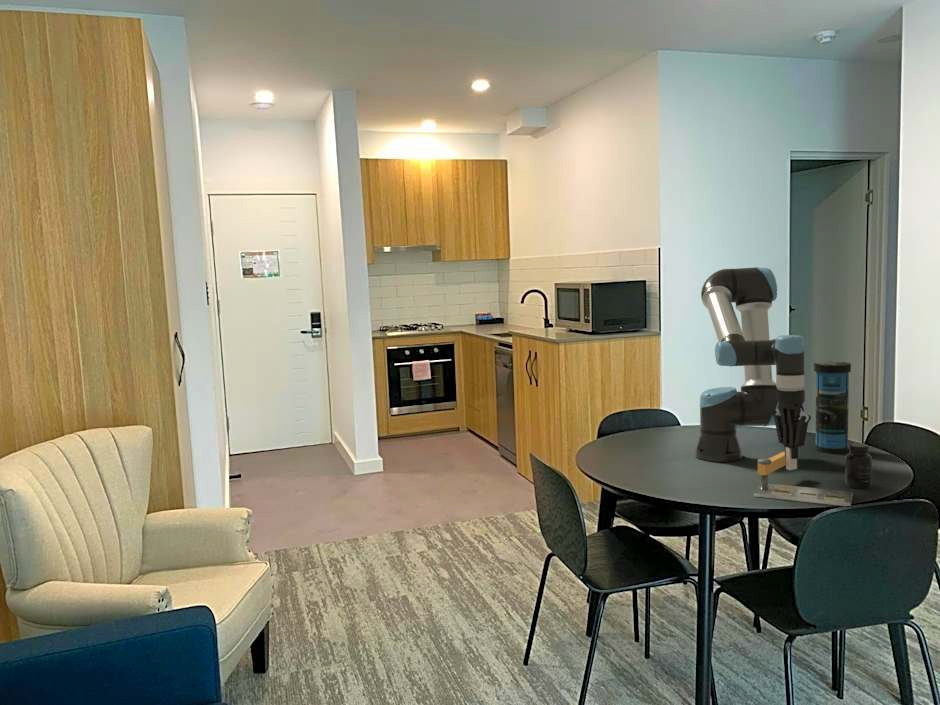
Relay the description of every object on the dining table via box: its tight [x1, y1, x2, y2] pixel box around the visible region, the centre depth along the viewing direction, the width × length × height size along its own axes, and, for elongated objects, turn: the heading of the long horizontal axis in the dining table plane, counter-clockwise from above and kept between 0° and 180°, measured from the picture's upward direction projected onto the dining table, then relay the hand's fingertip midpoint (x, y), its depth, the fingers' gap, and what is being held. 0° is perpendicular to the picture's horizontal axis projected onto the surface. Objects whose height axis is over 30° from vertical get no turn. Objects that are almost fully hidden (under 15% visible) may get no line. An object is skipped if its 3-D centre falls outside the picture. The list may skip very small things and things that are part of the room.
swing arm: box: [757, 450, 786, 476], centre depth 215 cm, size 22×4×4 cm, turn 135°
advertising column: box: [813, 361, 852, 454], centre depth 252 cm, size 11×11×30 cm
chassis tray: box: [753, 474, 854, 507], centre depth 204 cm, size 24×11×5 cm, turn 60°
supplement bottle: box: [844, 442, 873, 490], centre depth 211 cm, size 7×7×12 cm
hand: (791, 468), depth 214 cm, fingers closed
